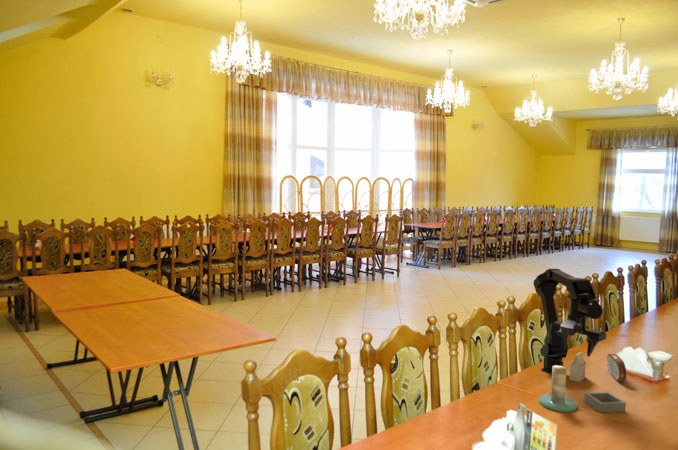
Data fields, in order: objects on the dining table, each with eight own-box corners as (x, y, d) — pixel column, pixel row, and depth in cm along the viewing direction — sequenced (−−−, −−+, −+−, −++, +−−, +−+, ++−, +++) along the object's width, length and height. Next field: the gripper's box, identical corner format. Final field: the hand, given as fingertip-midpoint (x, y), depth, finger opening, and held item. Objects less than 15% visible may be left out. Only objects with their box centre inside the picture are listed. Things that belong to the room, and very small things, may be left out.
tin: (626, 384, 193) (627, 363, 192) (617, 384, 193) (618, 362, 193) (613, 370, 207) (614, 350, 207) (605, 370, 208) (606, 350, 207)
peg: (548, 399, 176) (549, 365, 175) (559, 398, 177) (561, 365, 176) (555, 404, 172) (557, 370, 171) (567, 403, 172) (569, 369, 172)
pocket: (584, 401, 177) (584, 392, 177) (608, 400, 178) (608, 391, 178) (600, 412, 168) (600, 403, 168) (625, 411, 169) (625, 402, 169)
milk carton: (569, 379, 197) (570, 354, 197) (575, 374, 202) (576, 350, 202) (579, 382, 195) (580, 356, 194) (585, 377, 200) (586, 352, 199)
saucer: (532, 402, 176) (532, 399, 176) (551, 394, 183) (551, 391, 183) (564, 415, 166) (564, 412, 166) (583, 406, 173) (583, 403, 173)
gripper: (543, 310, 191) (541, 350, 192) (591, 320, 176) (589, 364, 177) (559, 306, 197) (557, 345, 198) (607, 316, 182) (605, 358, 183)
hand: (576, 353), depth 189 cm, fingers open, 9 cm apart
